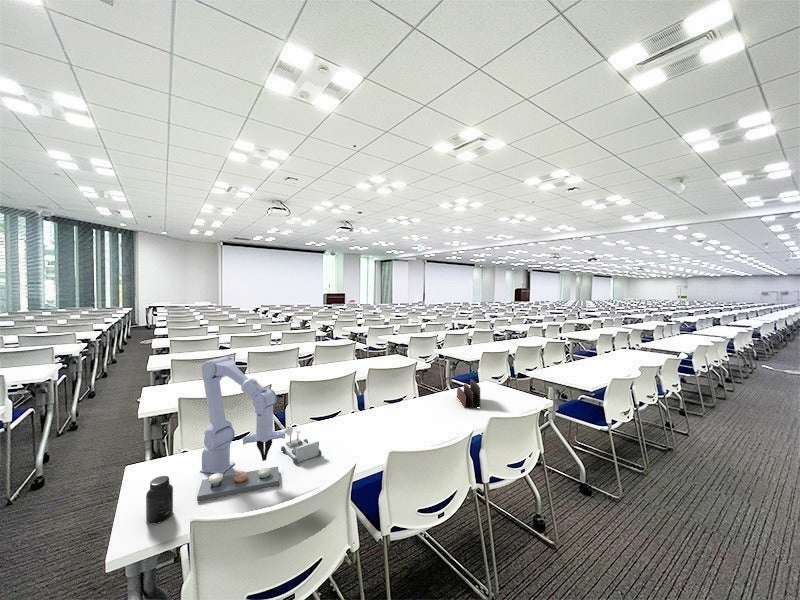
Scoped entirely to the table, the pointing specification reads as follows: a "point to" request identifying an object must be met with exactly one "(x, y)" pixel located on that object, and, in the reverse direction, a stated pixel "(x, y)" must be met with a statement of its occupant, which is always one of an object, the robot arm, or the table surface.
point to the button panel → (237, 485)
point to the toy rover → (300, 448)
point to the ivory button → (216, 479)
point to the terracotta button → (240, 477)
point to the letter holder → (469, 395)
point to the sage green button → (264, 473)
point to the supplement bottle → (159, 500)
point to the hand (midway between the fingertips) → (264, 459)
